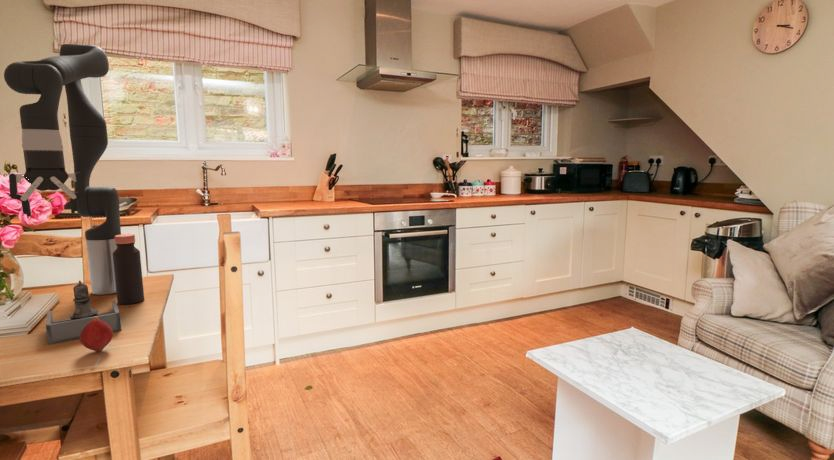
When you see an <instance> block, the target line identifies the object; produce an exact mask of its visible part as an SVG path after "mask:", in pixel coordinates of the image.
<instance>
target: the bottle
mask: <svg viewBox="0 0 834 460" xmlns="http://www.w3.org/2000/svg"><path fill="white" fill-rule="evenodd" d="M115 244H116V245H117V249H116V250H115V251H114V252H113V264H114V274H115V283H116V293H115V294H116V300H117V301H116V303H117V304H119V305H121V306H122V305H125V306H126V305H134V304H138V303H141V302H143V301H144V300H145V292H144V282H143V272H142V271H143V270H142V262H141V260H142V259H141V251H140V250H139V249H138V248H137V247H136V246H135V244H136V236H135V234H134V233H123V234H122V233H121V235H116V236H115Z"/></svg>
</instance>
